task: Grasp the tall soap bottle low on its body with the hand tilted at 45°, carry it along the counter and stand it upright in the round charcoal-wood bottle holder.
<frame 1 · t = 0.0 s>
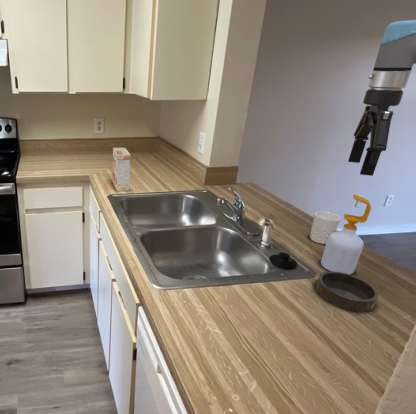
hand: (359, 168, 94), 33 cm above the worktop, tool pointing down, fingers open, 13 cm apart
coffeecake box: (120, 186, 179), on the worktop
white cup: (320, 240, 124), on the worktop
holder: (343, 295, 94), on the worktop
soap bottle: (336, 267, 107), on the worktop
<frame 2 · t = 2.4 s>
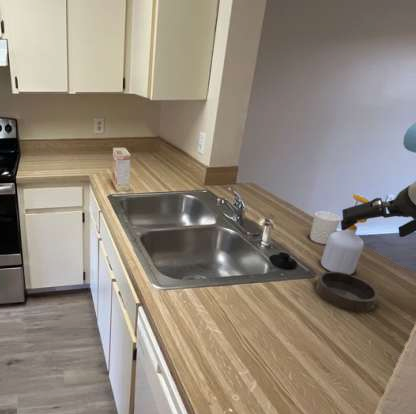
hand: (371, 228, 91), 19 cm above the worktop, tool tilted 45°, fingers open, 13 cm apart
nothing on the worktop moved.
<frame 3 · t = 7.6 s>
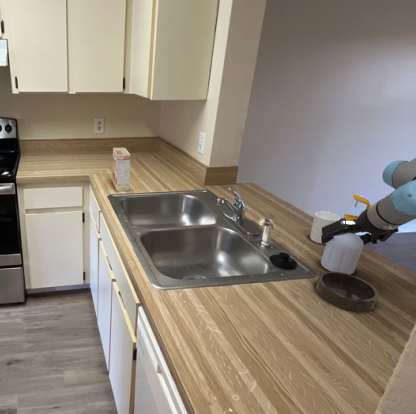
hand: (339, 241, 107), 8 cm above the worktop, tool tilted 45°, fingers closed on soap bottle, 9 cm apart
soap bottle: (336, 267, 107), on the worktop, touching gripper
everything else where it was.
when the fingers open (9 cm above the worktop, at t = 19.4 s): soap bottle stays where it is, resting on holder.
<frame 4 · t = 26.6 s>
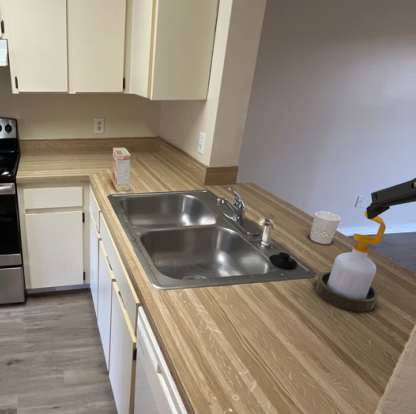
hand: (404, 216, 73), 30 cm above the worktop, tool tilted 45°, fingers open, 13 cm apart
soap bottle: (344, 293, 94), point 1 cm above the worktop, touching holder
everything else where it was.
at the end: soap bottle 0.1 cm off-centre in the holder, point 0.6 cm above the holder's base; soap bottle tilted 0°; the gripper is holding nothing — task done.
